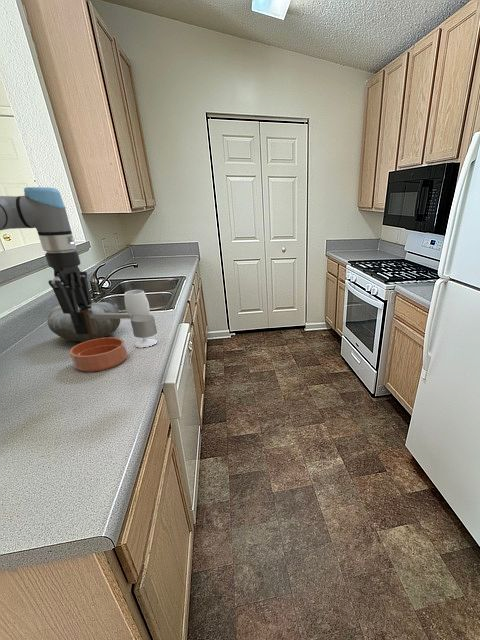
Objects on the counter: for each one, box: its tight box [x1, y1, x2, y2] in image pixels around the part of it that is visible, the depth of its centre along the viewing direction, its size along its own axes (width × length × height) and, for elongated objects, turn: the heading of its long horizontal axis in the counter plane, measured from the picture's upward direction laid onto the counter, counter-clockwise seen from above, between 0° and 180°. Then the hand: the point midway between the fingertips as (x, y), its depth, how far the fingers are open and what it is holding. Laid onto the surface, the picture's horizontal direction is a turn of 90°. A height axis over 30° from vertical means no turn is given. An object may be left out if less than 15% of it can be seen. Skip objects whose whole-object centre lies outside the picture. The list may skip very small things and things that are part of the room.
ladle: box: [74, 310, 158, 339], centre depth 99 cm, size 24×6×7 cm, turn 88°
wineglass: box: [123, 289, 158, 349], centre depth 128 cm, size 9×9×21 cm
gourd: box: [47, 301, 121, 343], centre depth 136 cm, size 25×25×17 cm
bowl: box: [69, 336, 128, 373], centre depth 117 cm, size 17×17×6 cm
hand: (85, 331), depth 100 cm, fingers closed on ladle, 2 cm apart
